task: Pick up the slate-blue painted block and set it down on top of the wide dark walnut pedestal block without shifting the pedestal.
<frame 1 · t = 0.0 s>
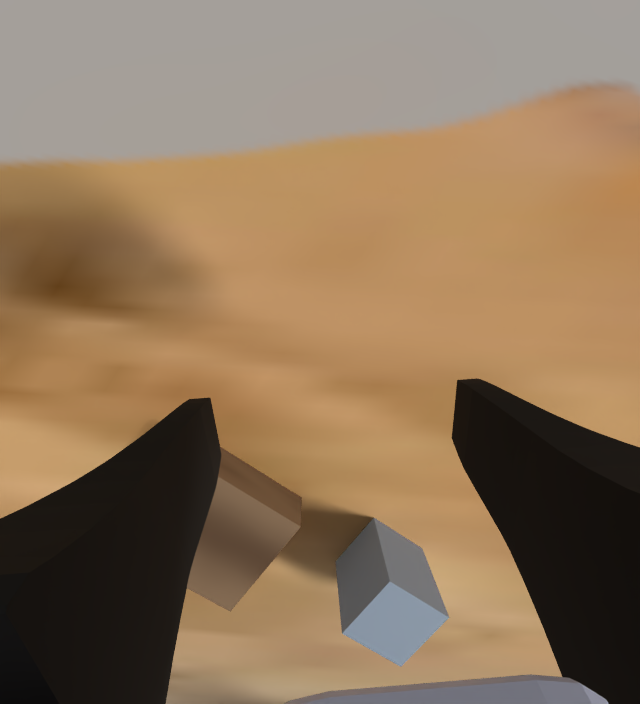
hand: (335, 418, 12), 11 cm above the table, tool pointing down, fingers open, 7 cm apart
walnut pedestal: (223, 506, 25), on the table
blue block: (378, 554, 25), on the table
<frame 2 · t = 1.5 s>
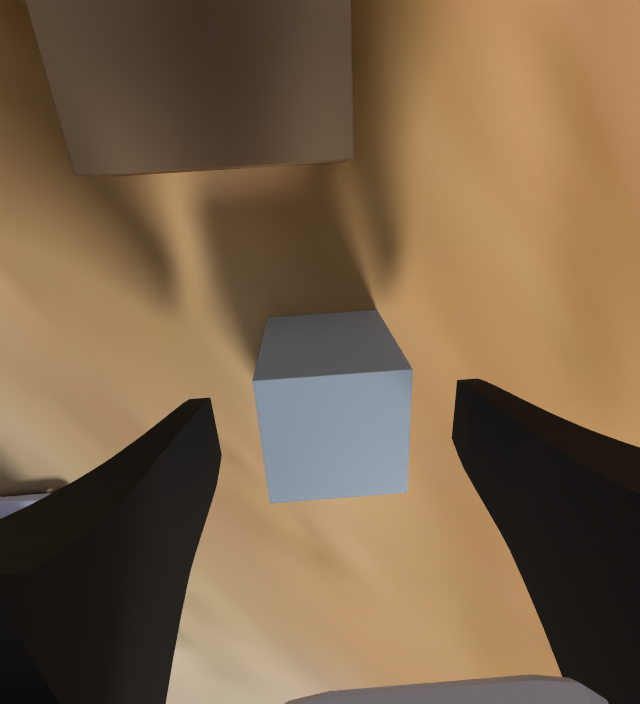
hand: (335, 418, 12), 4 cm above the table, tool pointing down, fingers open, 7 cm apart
walnut pedestal: (215, 34, 11), on the table
blue block: (325, 362, 15), on the table
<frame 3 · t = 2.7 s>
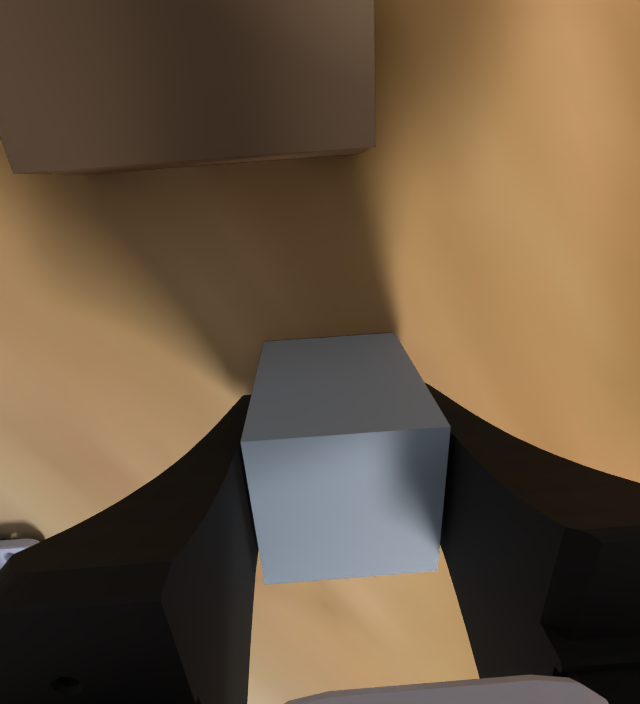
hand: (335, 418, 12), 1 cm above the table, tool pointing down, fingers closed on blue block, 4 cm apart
blue block: (332, 393, 13), on the table, touching gripper
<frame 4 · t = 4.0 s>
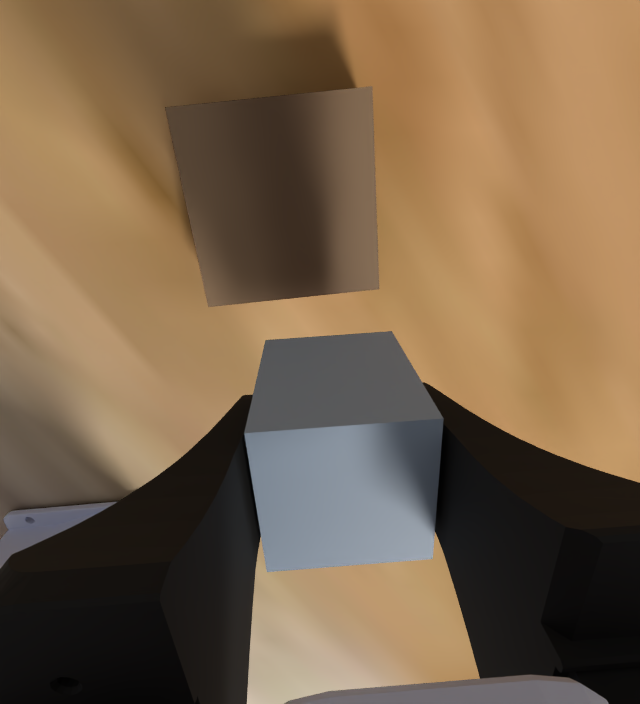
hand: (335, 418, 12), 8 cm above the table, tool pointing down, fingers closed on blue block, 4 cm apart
walnut pedestal: (285, 202, 17), on the table
blue block: (331, 391, 13), point 7 cm above the table, touching gripper
when the fingers open (6 cm above the table, at t = 5.2 s): blue block drops 1 cm, resting on walnut pedestal.
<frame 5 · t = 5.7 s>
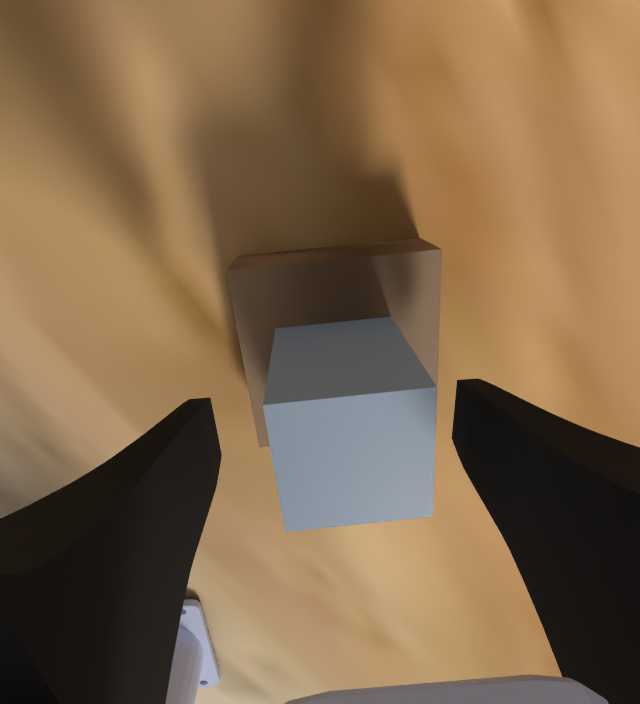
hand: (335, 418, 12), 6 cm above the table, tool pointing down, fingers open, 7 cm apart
walnut pedestal: (335, 328, 17), on the table, touching blue block
blue block: (337, 374, 14), point 3 cm above the table, touching walnut pedestal
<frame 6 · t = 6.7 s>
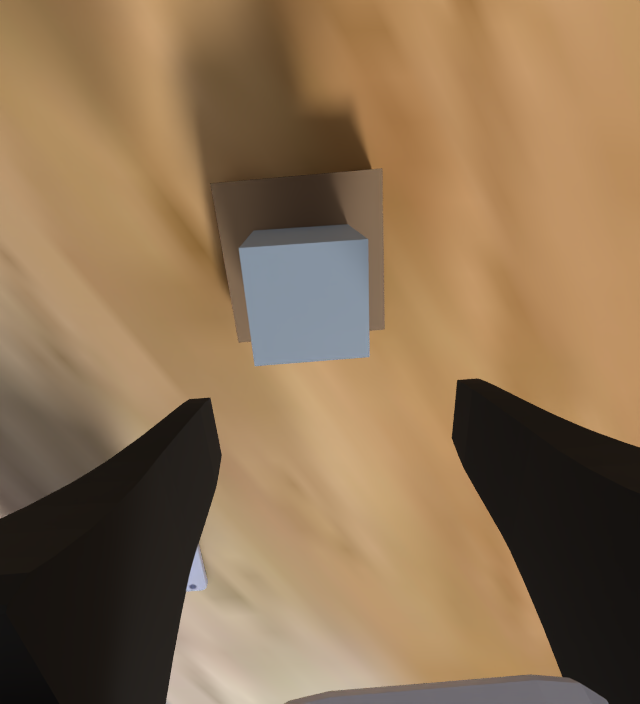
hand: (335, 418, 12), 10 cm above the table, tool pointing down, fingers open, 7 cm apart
walnut pedestal: (304, 250, 20), on the table
blue block: (304, 274, 18), point 3 cm above the table
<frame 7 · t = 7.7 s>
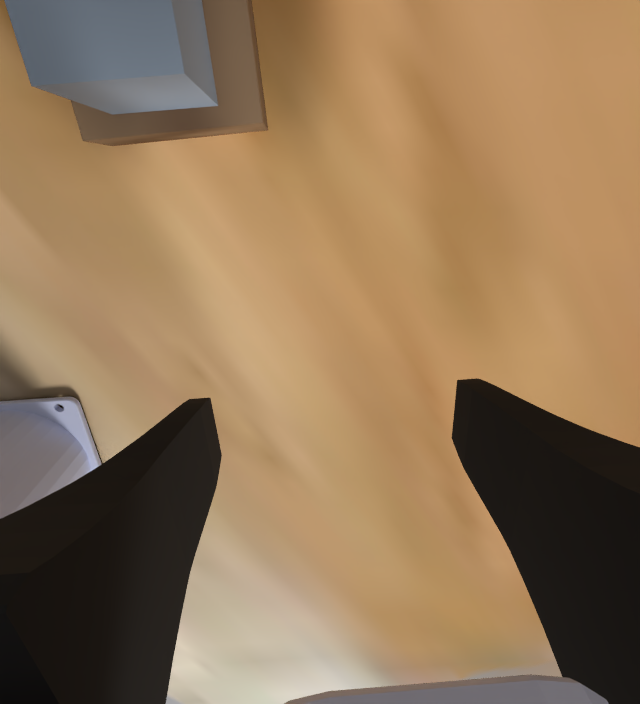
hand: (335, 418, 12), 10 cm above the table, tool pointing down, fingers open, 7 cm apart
walnut pedestal: (174, 45, 17), on the table
blue block: (152, 45, 14), point 3 cm above the table
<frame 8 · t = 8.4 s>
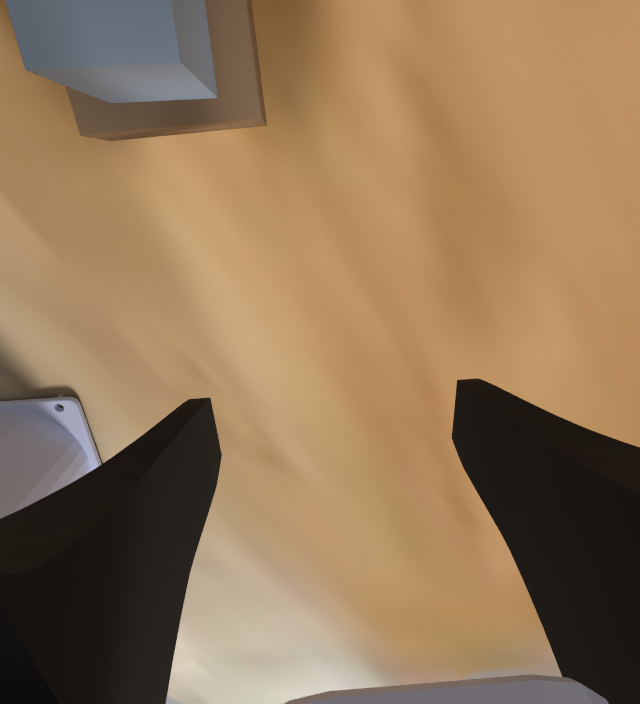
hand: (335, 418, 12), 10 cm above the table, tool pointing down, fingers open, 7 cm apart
walnut pedestal: (172, 39, 16), on the table, touching blue block
blue block: (152, 34, 14), point 3 cm above the table, touching walnut pedestal
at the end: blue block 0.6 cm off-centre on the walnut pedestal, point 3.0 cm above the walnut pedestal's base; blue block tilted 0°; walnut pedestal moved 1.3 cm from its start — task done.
